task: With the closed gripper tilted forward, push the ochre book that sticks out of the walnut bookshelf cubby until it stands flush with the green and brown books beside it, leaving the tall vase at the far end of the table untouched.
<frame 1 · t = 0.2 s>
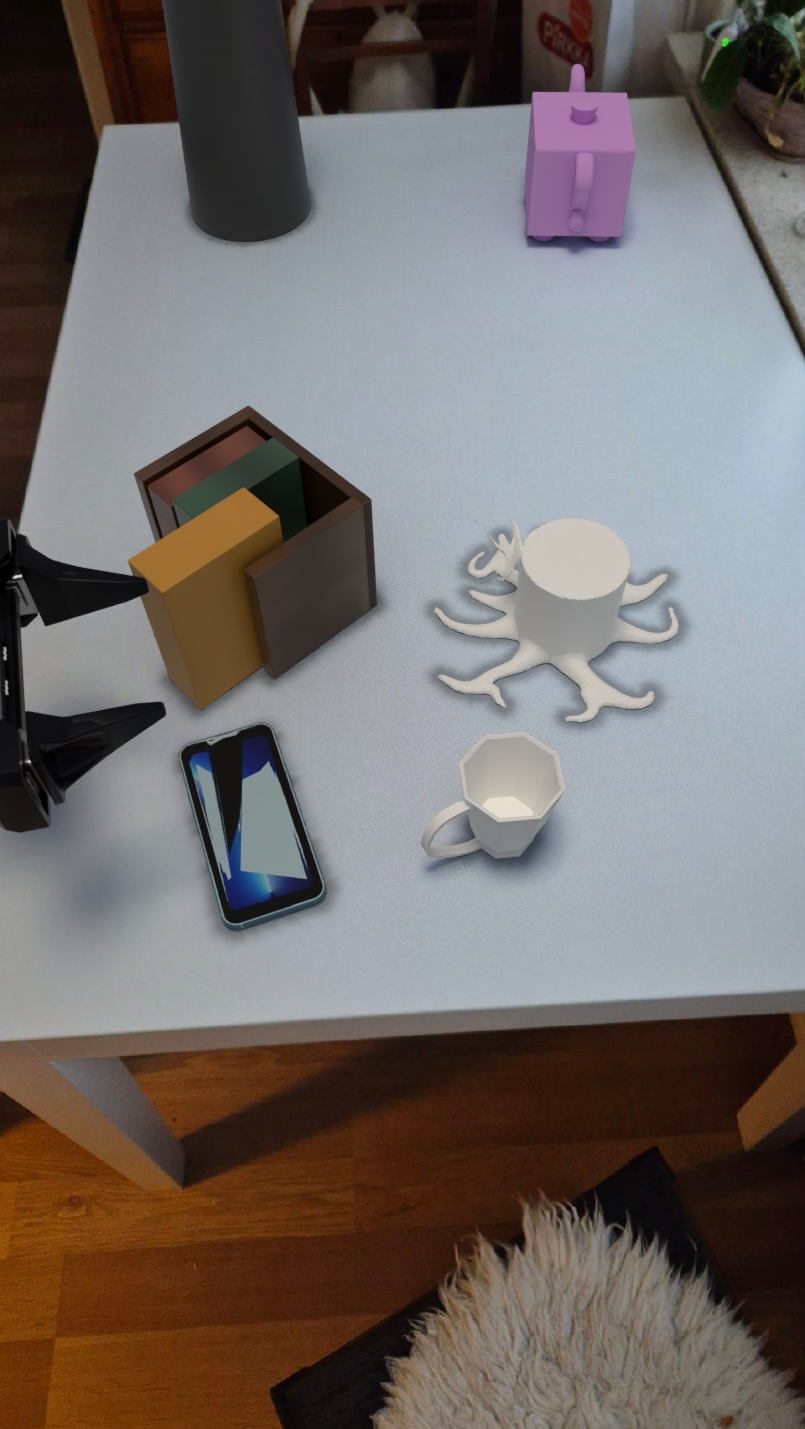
hand: (156, 644, 60), 17 cm above the table, tool horizontal, fingers open, 9 cm apart
vase: (251, 209, 116), on the table
teapot: (568, 213, 115), on the table
bookshelf: (258, 588, 84), on the table
ochre book: (235, 659, 80), resting in bookshelf
tree stump: (558, 629, 82), on the table
cup: (485, 841, 71), on the table
smartphone: (251, 824, 72), on the table
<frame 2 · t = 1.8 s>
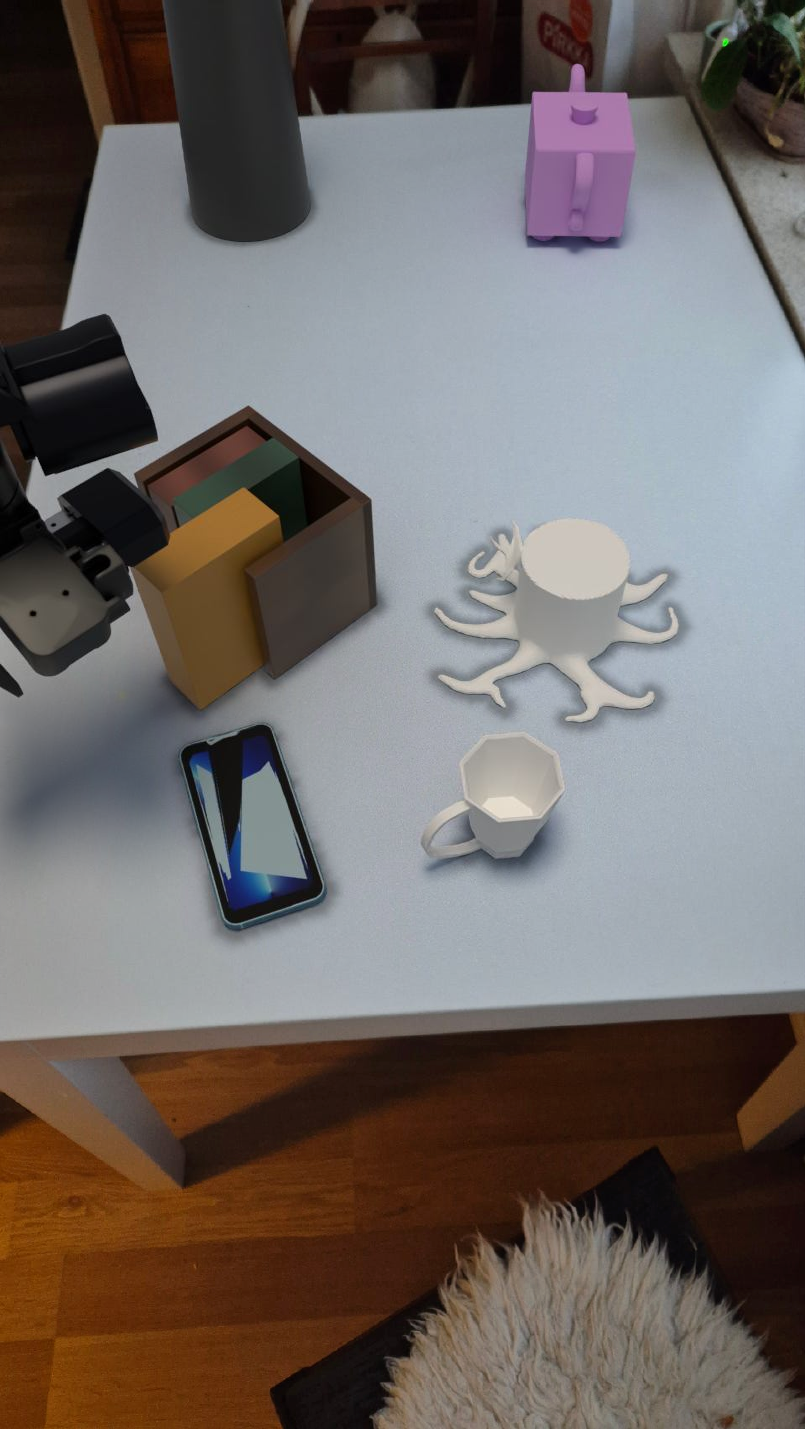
hand: (54, 668, 65), 12 cm above the table, tool pointing down, fingers open, 5 cm apart
nothing on the table moved.
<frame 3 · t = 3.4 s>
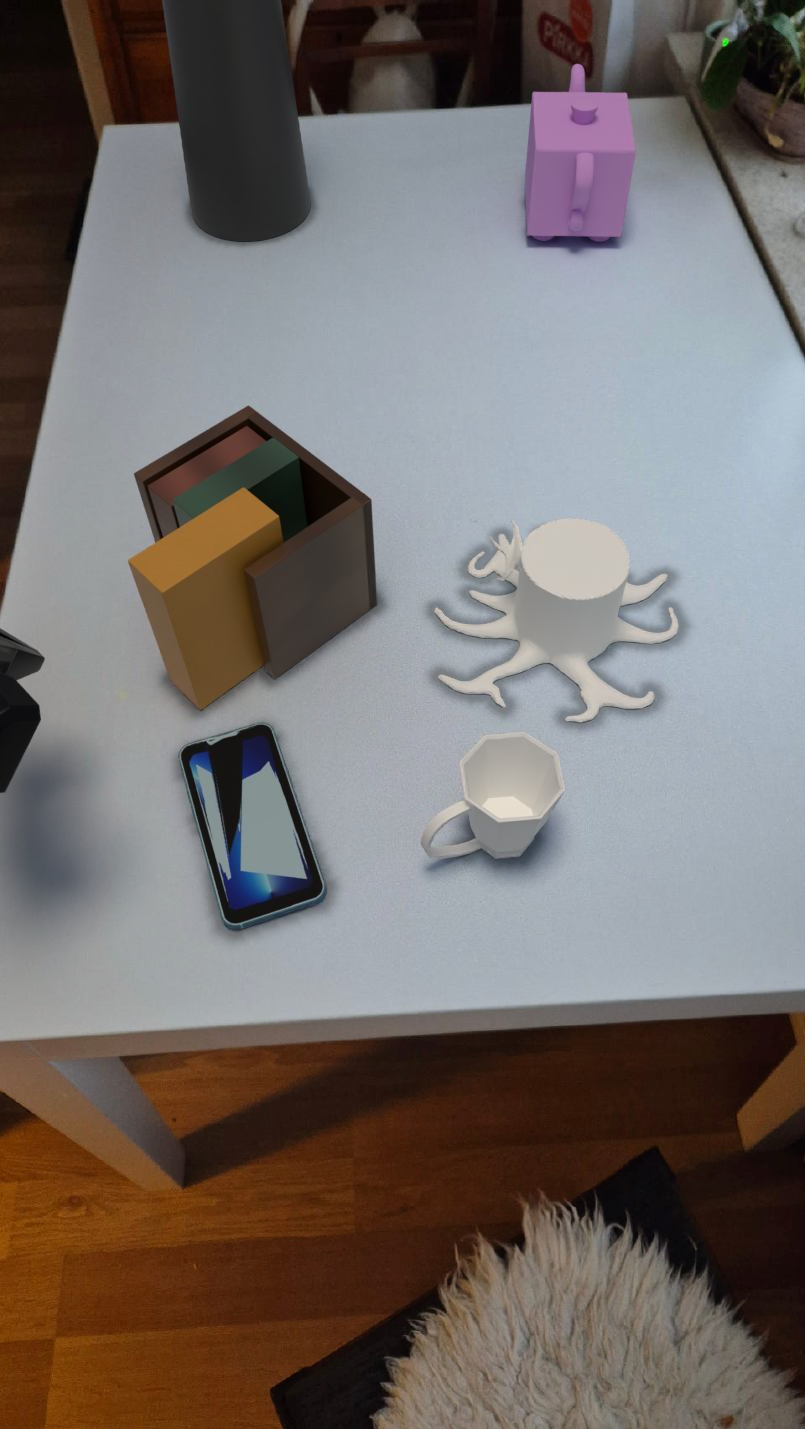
hand: (39, 661, 65), 12 cm above the table, tool tilted 45°, fingers closed
nothing on the table moved.
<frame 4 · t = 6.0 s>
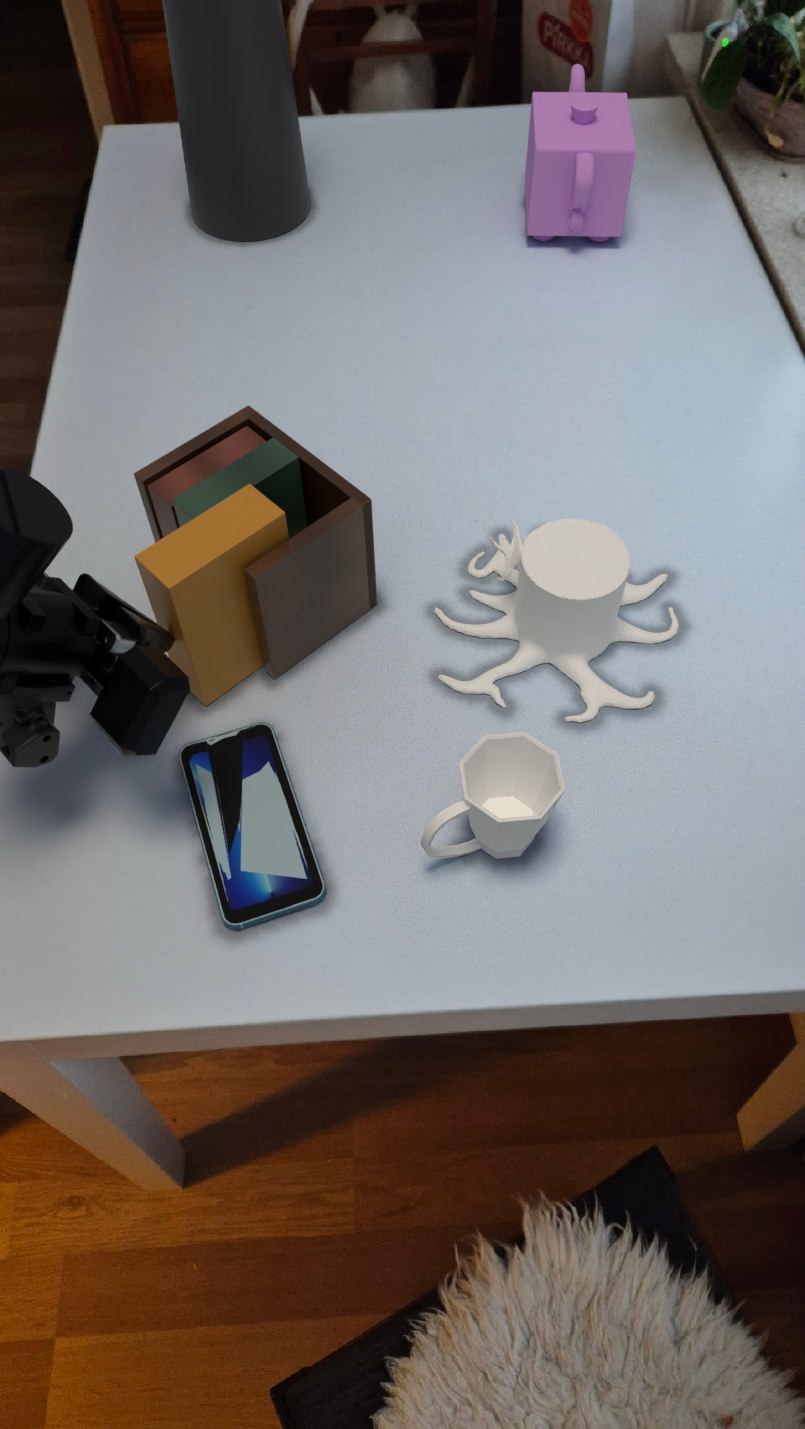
hand: (170, 641, 73), 7 cm above the table, tool tilted 45°, fingers closed, pressing on ochre book
ochre book: (240, 656, 81), resting in bookshelf, touching gripper
everything else where it was.
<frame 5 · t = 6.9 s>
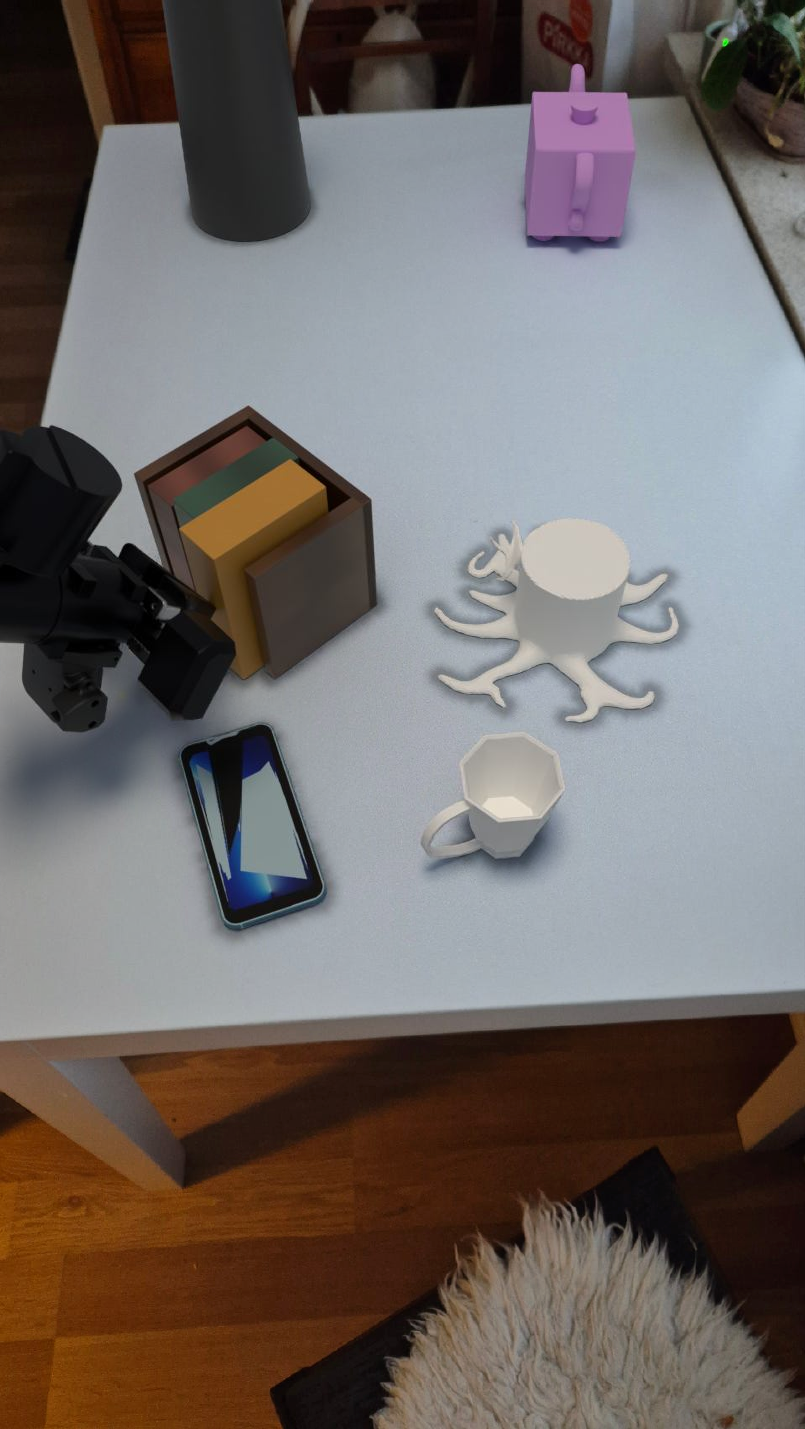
hand: (210, 611, 74), 7 cm above the table, tool tilted 45°, fingers closed, pressing on ochre book
ochre book: (276, 631, 82), resting in bookshelf, touching gripper
everything else where it was.
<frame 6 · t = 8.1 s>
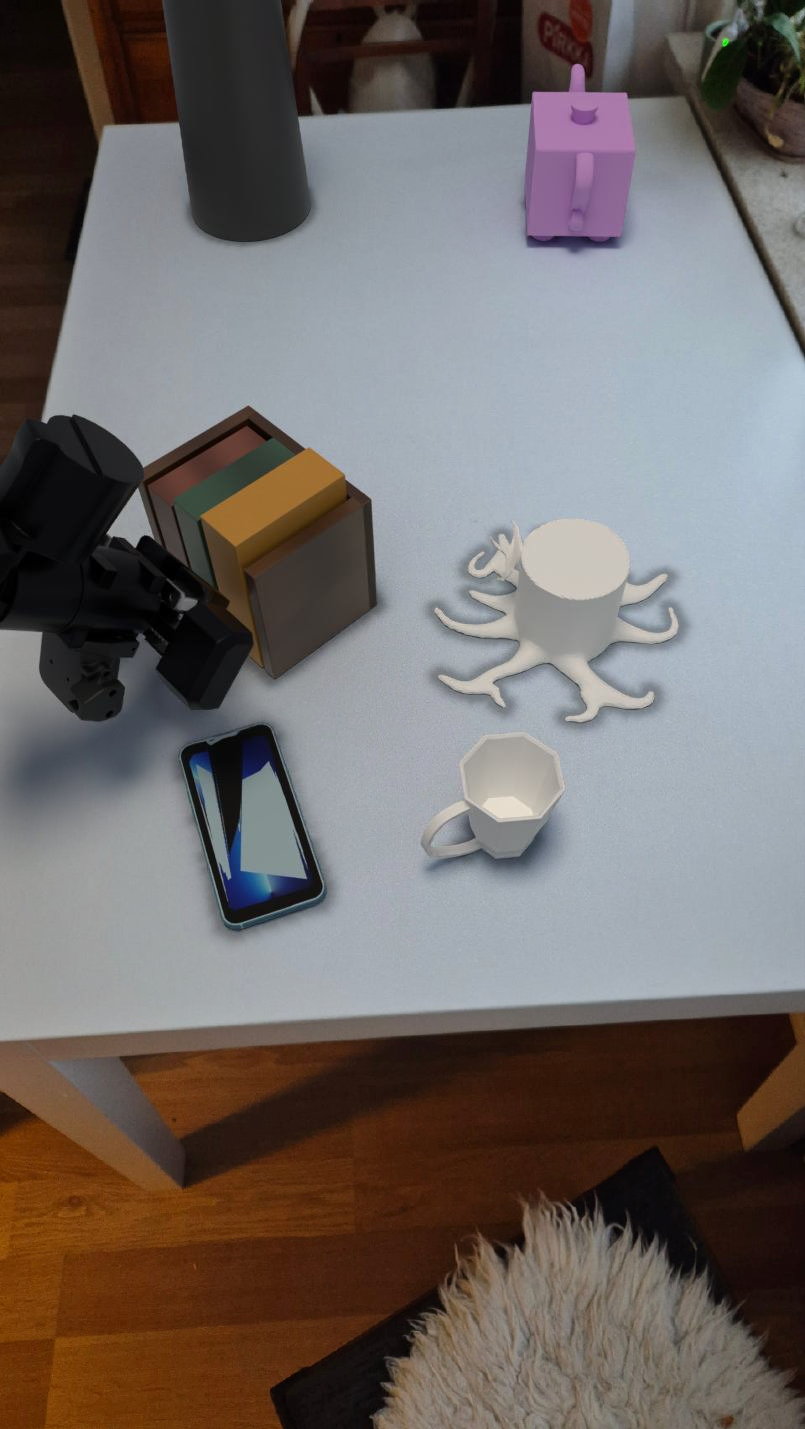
hand: (224, 604, 75), 7 cm above the table, tool tilted 45°, fingers closed
ochre book: (294, 619, 83), resting in bookshelf
everything else where it was.
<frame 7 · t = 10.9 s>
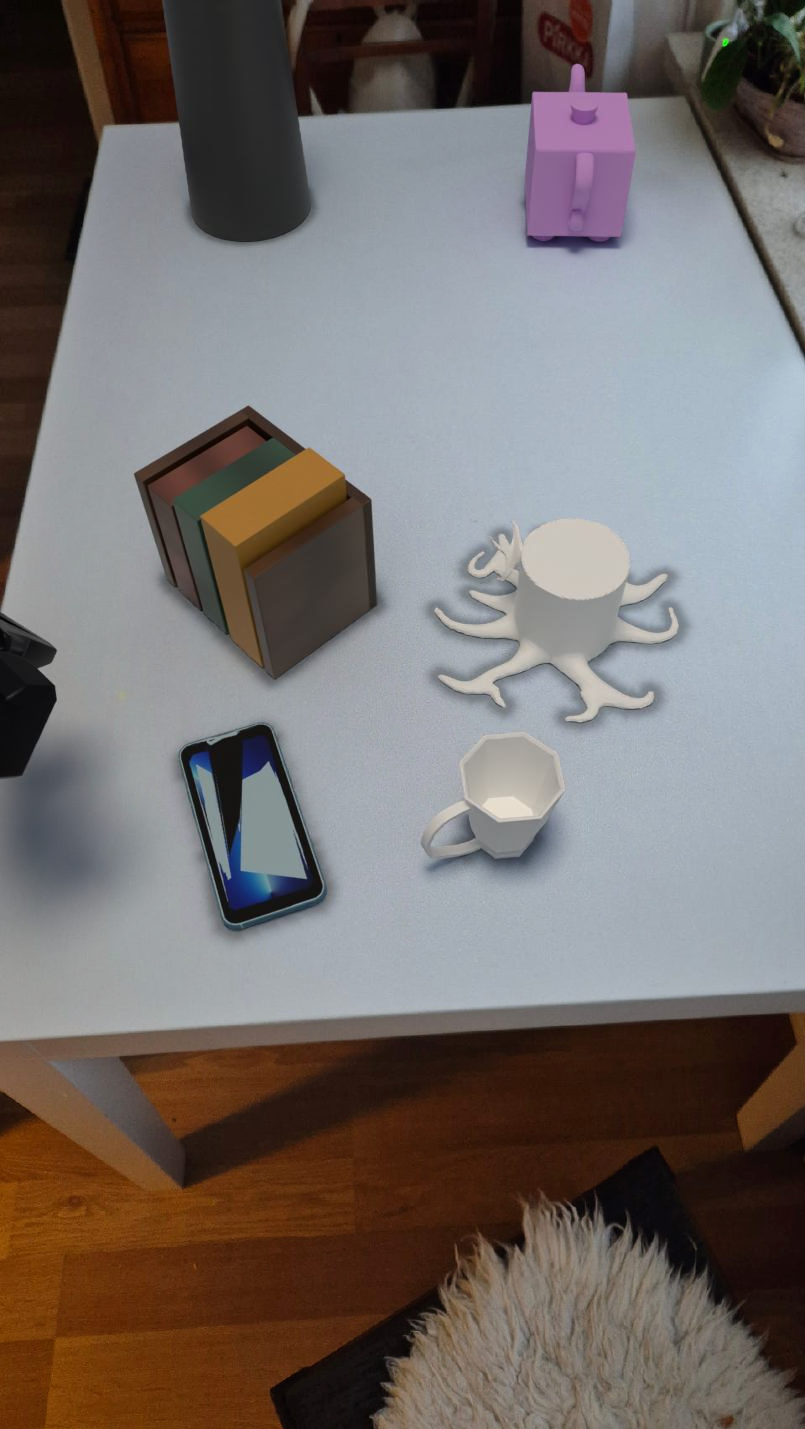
hand: (51, 653, 65), 13 cm above the table, tool tilted 45°, fingers closed
nothing on the table moved.
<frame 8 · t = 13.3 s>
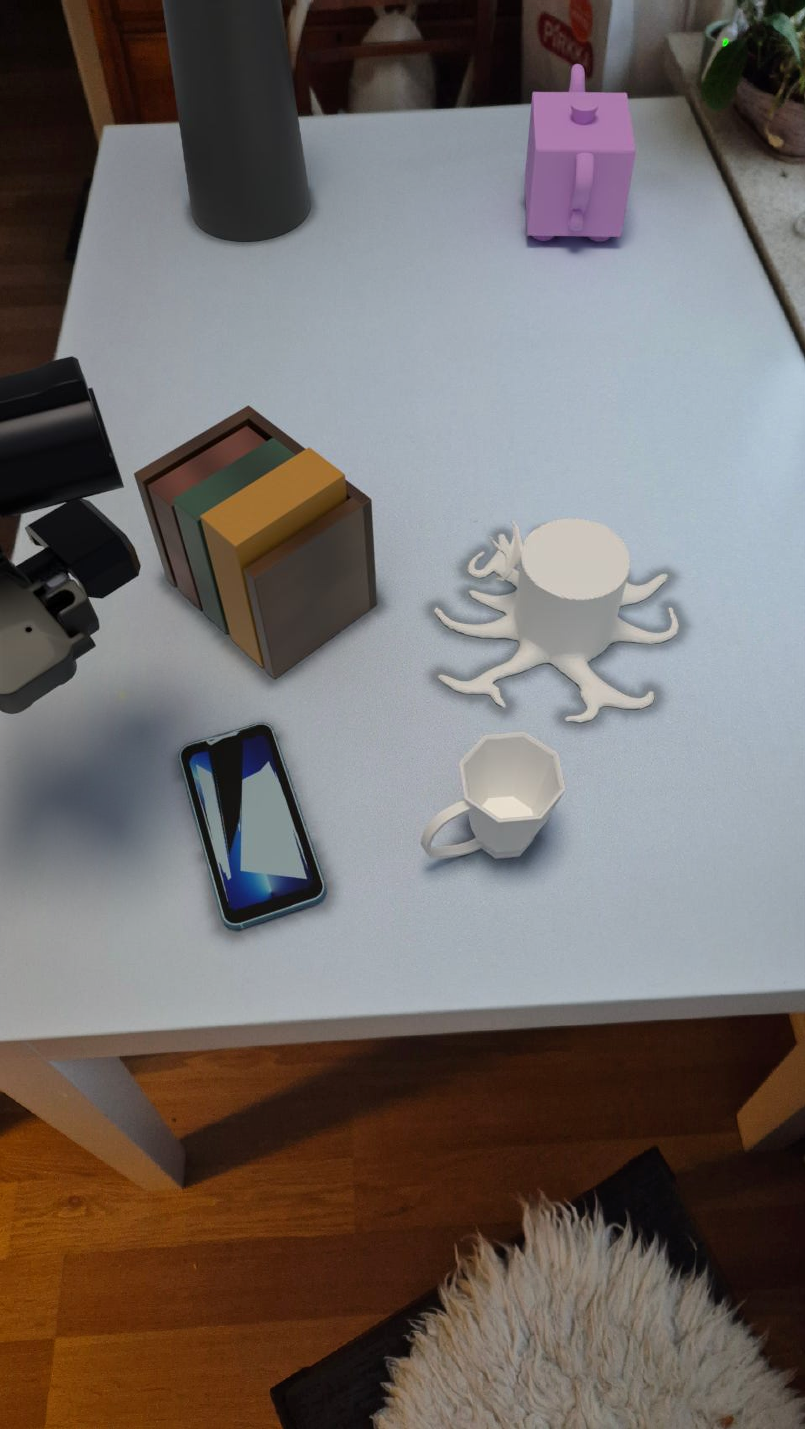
hand: (23, 698, 64), 12 cm above the table, tool pointing down, fingers closed
nothing on the table moved.
at the end: ochre book 0.4 cm from the target spot on the bookshelf, point 0.0 cm above the bookshelf's base; ochre book tilted 0°; vase moved 0.2 cm from its start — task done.
